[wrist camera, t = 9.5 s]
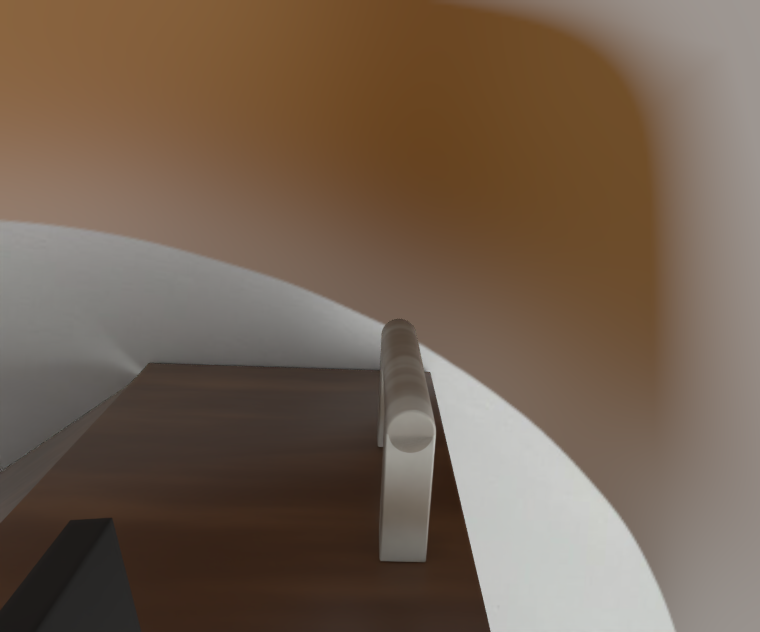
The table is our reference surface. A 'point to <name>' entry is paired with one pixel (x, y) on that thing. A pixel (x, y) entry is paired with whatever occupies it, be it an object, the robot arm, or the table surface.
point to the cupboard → (43, 459)
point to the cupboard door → (270, 500)
